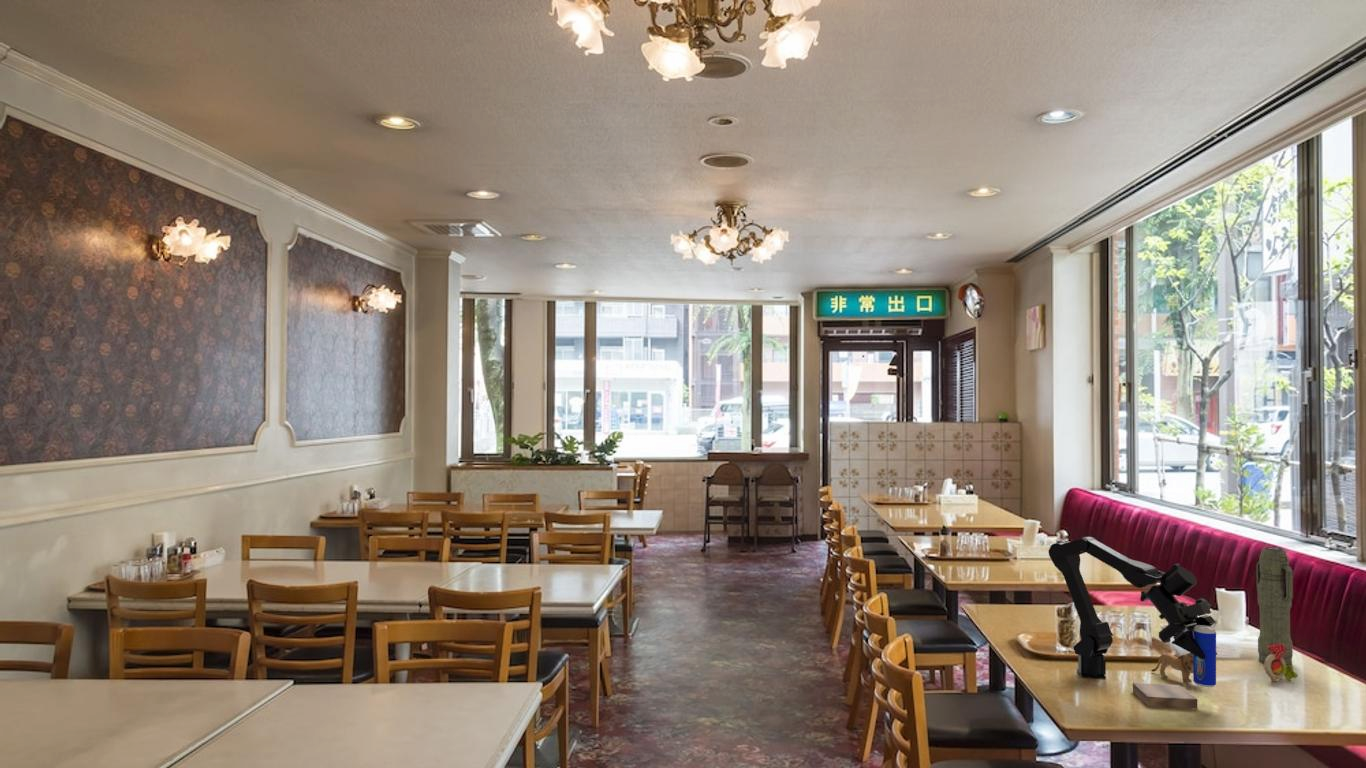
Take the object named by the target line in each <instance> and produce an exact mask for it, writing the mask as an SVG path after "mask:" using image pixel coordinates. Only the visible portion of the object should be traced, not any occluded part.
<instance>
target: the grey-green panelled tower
mask: <svg viewBox="0 0 1366 768" xmlns="http://www.w3.org/2000/svg"><path fill="white" fill-rule="evenodd" d="M1289 565H1290V559H1289V556H1288V553H1287V551H1286V550H1285V549H1283V548H1281V547H1275V546H1266V547H1263V548H1262V549H1261V552H1260V555H1259V560H1258V561H1257V562H1256V564H1255V575H1256V576H1255V580H1256V581H1255V582H1256V583H1255V585H1256V593H1257V604H1258V606H1259V635H1258V639H1257V652H1258V662H1260V663H1262V664H1264V663H1265V660H1266V658H1267V656H1268V655H1270V654H1271V653H1272V652H1271V651H1270V650H1269V649H1268V647H1267V646H1268V645H1270V646H1271V645H1273V644H1275V645H1276V644H1281V643H1283V644H1284V648H1287V651H1286V652H1285V653H1283V654H1281V656H1282V658H1283V659H1284V661H1285V663H1286V666H1289V665H1291V666H1293V655H1294V654H1293V652H1294V651H1293V648H1294V647H1293V641H1292V638H1291V608H1292V606H1293V605H1292V604H1293V603H1292V600H1293V599H1294V589H1293V588H1294V571H1293V569H1292V567H1291V566H1289ZM1273 661H1275V660H1273ZM1277 662H1278V661H1277Z"/></svg>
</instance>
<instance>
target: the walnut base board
mask: <svg viewBox="0 0 1366 768" xmlns="http://www.w3.org/2000/svg"><path fill="white" fill-rule="evenodd" d="M1132 693H1133V694H1134V695H1136V697H1137V698H1138V699H1140V700H1141V701H1142V702H1143V703H1144V705H1146V706H1147V707H1157V708H1169V709H1170V708H1173V709H1174V708H1175V709H1189V708H1197V709H1198V698H1196V697H1195V696H1194V695H1193V694H1191V692H1189V691H1188V690H1186V689H1185V688H1184V687H1182V686H1181V685H1180V684H1163V683H1161V684H1160V683H1144V682H1142V683H1141V682H1132Z"/></svg>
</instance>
